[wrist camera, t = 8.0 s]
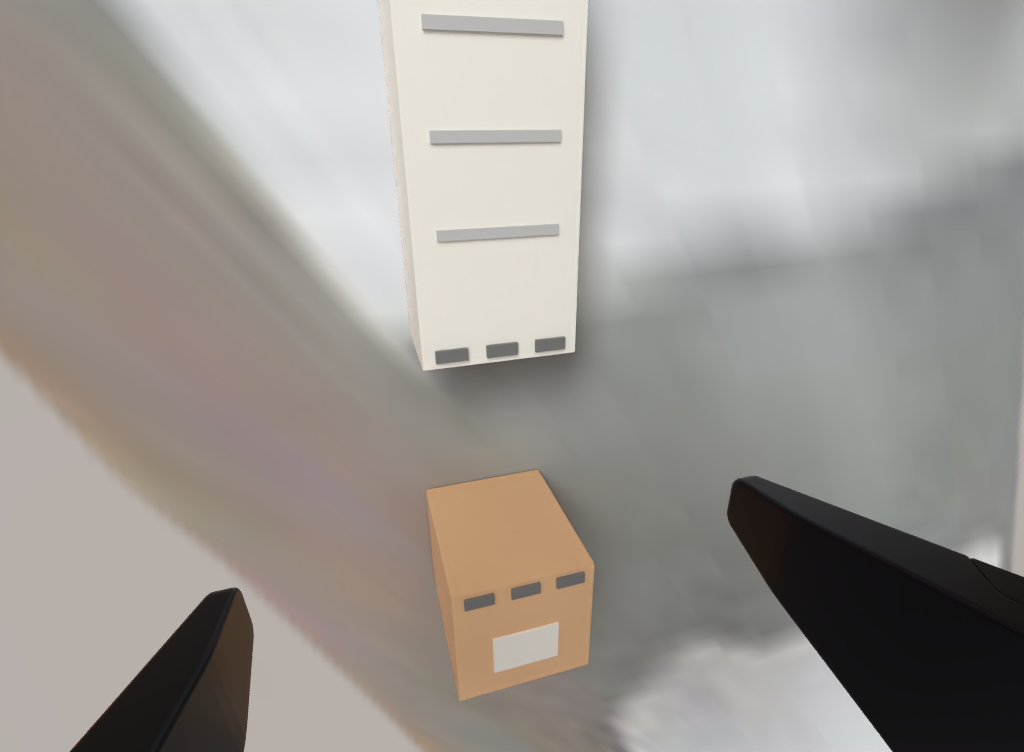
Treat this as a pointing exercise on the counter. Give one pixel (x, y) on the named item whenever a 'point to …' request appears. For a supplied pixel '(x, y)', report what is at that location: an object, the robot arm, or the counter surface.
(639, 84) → the counter surface
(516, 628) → the light brown cardboard box
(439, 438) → the counter surface
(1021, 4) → the counter surface
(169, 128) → the counter surface
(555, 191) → the white slotted tower
